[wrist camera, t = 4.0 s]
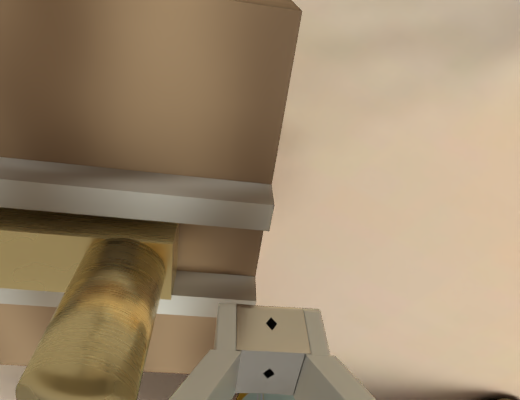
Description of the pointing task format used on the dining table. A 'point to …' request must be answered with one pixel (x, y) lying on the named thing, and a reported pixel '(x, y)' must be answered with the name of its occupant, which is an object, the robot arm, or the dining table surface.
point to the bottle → (263, 396)
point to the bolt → (89, 297)
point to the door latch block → (147, 142)
